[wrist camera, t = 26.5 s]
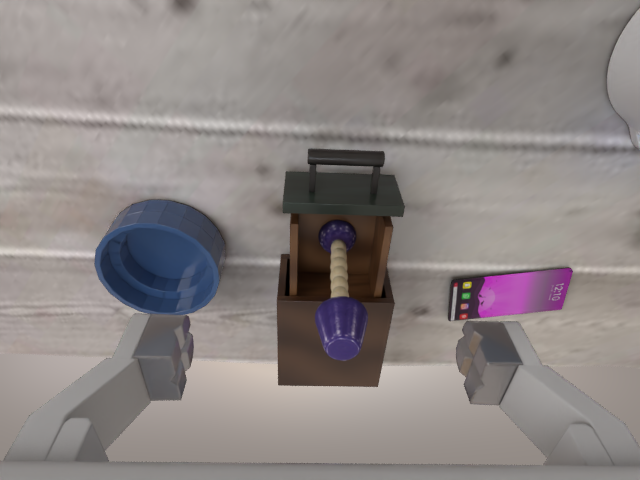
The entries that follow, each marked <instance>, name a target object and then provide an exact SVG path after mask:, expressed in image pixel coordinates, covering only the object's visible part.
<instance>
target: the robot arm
mask: <svg viewBox="0 0 640 480" xmlns="http://www.w3.org/2000/svg"><path fill="white" fill-rule="evenodd" d="M607 91H608V96H609V99H610V102H611V104H612V106H613V108H614V109H615V111H616V112H617V113H618V114H619V115H620V116H621V117H622V118H623V119H624V120H625V122H626V123H627V124H628V126H629V130H630V136H631V140H632V143H633V145H634V146H635V147H636V148H638V149H640V8H639V10H638V11H637V12H636V13H635V14H634V16H633V17H632V18H631V20H630V21H629V22H628V24H627V25H626V27H625V28H624V30H623V32H622V33H621V35H620V37H619V39H618V41H617V43H616V45H615V48H614V50H613V53H612V55H611V59H610V62H609V66H608V72H607ZM189 328H190V320H189V316H187V315H168V314H139V313H135V314H134V315H133V316H132V317H131V318H130V320H129V322H128V325H127V327H126V329H125V331H124V333H123V335H122V338H121V340H120V342H119V344H118V346H117V348H116V350H115V353H114V355H113V357H112V358H106V359H105V360H103V361H102V362H101V363H99V364H98V365H97V366H95V367H94V368H93V369H91V370H90V371H88V372H87V373H86V374H84V375H83V376H82V377H80V378H79V379H78V380H76V381H75V382H74V383H72V384H71V385H70V386H68V387H67V388H66V389H64V390H63V391H62V392H60V393H59V394H57V395H56V396H55V397H53V398H52V399H51V400H49V401H48V402H47V403H45V404H44V405H43V406H41V407H40V408H39V409H37V410H36V411H35V412H33V413H32V414H31V415H29V417H28V419H27V420H26V422H25V424H24V425H23V427H22V429H21V431H20V432H19V434H18V436H17V437H16V439H15V441H14V443H13V444H12V446H11V448H10V449H9V451H8V453H7V455H6V456H5V458H4V460H3V461H0V480H640V446H639V445H638V443H637V442H636V440H635V438H634V437H633V435H632V434H631V432H630V431H629V429H628V427H627V426H626V424H625V423H624V422H622V421H621V420H620V419H619V418H617V417H616V416H615V415H613V414H612V413H611V412H609V411H608V410H606V409H605V408H604V407H603V406H601V405H600V404H598V403H597V402H596V401H594V400H593V399H592V398H590V397H589V396H588V395H586V394H585V393H584V392H582V391H581V390H580V389H578V388H577V387H576V386H574V385H573V384H572V383H570V382H569V381H568V380H566V379H565V378H564V377H562V376H561V375H560V374H558V373H557V372H555V371H554V370H553V369H552V368H550V367H549V366H545V365H542V363H541V361H540V359H539V358H538V356H537V354H536V352H535V350H534V348H533V346H532V345H531V343H530V341H529V339H528V337H527V335H526V333H525V332H524V330H523V328H522V326H521V324H520V323H519V322H513V321H500V322H499V321H466V323H465V324H464V326H463V329H462V331H463V334H464V337H462V338H461V339H460V340H458V344H457V347H456V360H457V365H458V368H459V372H461V373H462V374H463V375H464V376H465V377H466V380H465V383H464V387H465V390H466V392H467V395H468V398H469V401H470V404H480V405H500V406H499V407H500V408H501V409H502V410H503V411H504V412H505V414H506V415H507V416H508V417H509V418H510V419H511V420H512V421H513V422H514V423H515V424H516V425H517V426H518V427H519V428H520V430H521V431H522V432H523V433H524V434H525V435H526V436H527V437H528V438H529V439H530V440H531V441H532V442H533V443H534V444H535V445H536V446H537V448H538V449H539V450H540V451H541V452H542V453H543V454H544V455H545V456H546V457H547V460H546V461H545V463H544V464H543V465H464V464H462V465H461V464H451V465H450V464H327V463H326V464H325V463H323V464H322V463H210V462H207V463H206V462H205V463H204V462H109V460H108V457H107V455H106V453H105V450H106V449H107V448H108V447H109V446H110V445H111V444H112V443H113V442H114V440H116V439H117V438H118V437H119V435H120V434H121V433H122V432H123V431H124V430H125V429H126V428H127V427H128V426H129V425H130V424H131V423H132V422H133V421H134V419H135V418H136V417H137V416H138V415H139V414H140V413H141V412H142V411H143V410H144V409H145V408H146V407H147V406H148V405H149V404H150V401H155V400H181V398H182V395H183V391H184V388H185V384H186V375H185V371H186V370H187V369H189V368H190V366H191V362H192V358H193V349H194V345H193V336H192V334H191V333H189V332H188V331H189Z"/></svg>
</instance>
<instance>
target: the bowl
mask: <svg viewBox="0 0 640 480" xmlns="http://www.w3.org/2000/svg"><path fill="white" fill-rule="evenodd" d="M225 259H226V252H225V243H224V241H223V239H222V237H221V235H220V233H219V231H218V229H217V227H216V226H215V225H214V224H213V223H212V222H211V221H210V220H209V219H208V218H207V217H206V216H205V215H203V214H201V213H200V212H198V211H196V210H195V209H193V208H191V207H190V206H187V205H184V204H180V203H177V202H173V201H169V200H147V201H144V202H140V203H136V204H132V205H131V206H129V207H128V208H126V209H125V210H124V211H122V212H121V213H119V215H118V216H117V218H116V219H115V221H114V222H113V224H112V225H111V227H110V228H109V230H108V231H107V233H106V234H105V236H104V237H103V239H102V241H101V242H100V244H99V245H98V247H97V249H96V253H95V263H94V264H95V268H96V271H97V274H98V277H99V280H100V281H101V282H102V284H103V285H104V286H105V288H106V289H107V290H108V292H110V294H112V295H113V296H114V297H116V298H117V299H118V300H119V301H121V302H122V303H124V304H125V305H127V306H129V307H132V308H134V309H136V310H138V311H141V312H144V313H148V314H168V315H185V314H189V313H193V312H195V311H197V310H199V309H200V308H202V307H204V306H206V305H207V304H208V303H209V302H210V300H211V299H212V298H213V297H214V296H215V294H216V291H217V288H218V285H219V282H220V278H221V274H222V270H223V266H224V262H225Z"/></svg>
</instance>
